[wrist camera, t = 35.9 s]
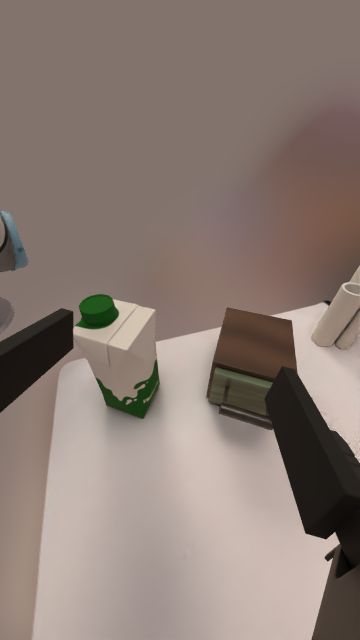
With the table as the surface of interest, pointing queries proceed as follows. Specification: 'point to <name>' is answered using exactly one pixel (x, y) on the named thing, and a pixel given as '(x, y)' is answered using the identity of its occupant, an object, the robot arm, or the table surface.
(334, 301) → the vase
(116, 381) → the soya milk
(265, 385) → the drawer
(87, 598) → the table surface
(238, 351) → the cabinet
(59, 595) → the table surface
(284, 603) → the table surface
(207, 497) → the table surface
